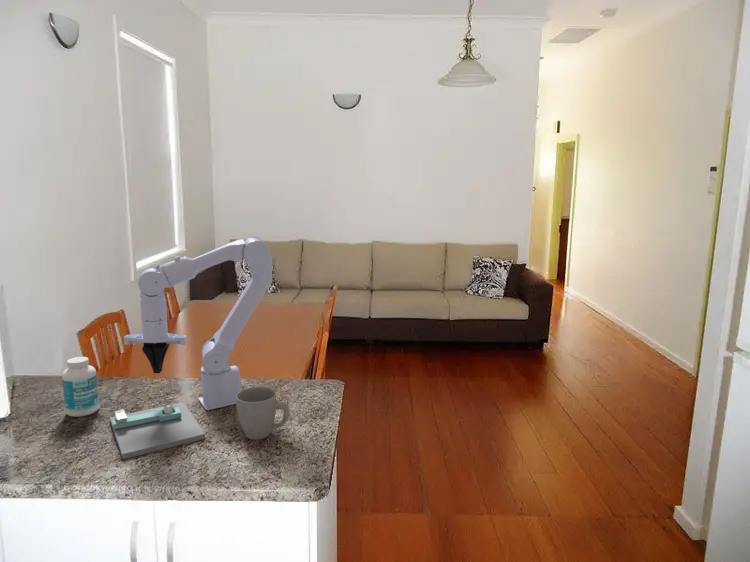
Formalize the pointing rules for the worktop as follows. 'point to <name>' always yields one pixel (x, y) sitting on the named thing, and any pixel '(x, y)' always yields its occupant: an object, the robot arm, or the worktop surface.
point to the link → (148, 418)
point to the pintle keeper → (122, 416)
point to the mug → (259, 411)
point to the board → (157, 433)
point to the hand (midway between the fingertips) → (157, 371)
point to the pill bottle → (80, 387)
